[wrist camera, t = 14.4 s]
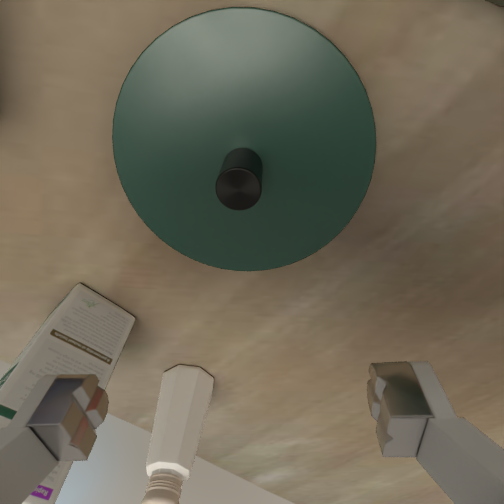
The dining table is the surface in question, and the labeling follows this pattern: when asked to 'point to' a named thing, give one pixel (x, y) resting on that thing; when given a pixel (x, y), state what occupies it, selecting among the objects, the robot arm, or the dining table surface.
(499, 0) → the pot
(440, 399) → the robot arm
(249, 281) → the dining table surface
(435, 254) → the dining table surface
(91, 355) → the syrup box
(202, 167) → the lid
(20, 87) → the dining table surface
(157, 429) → the salt shaker
